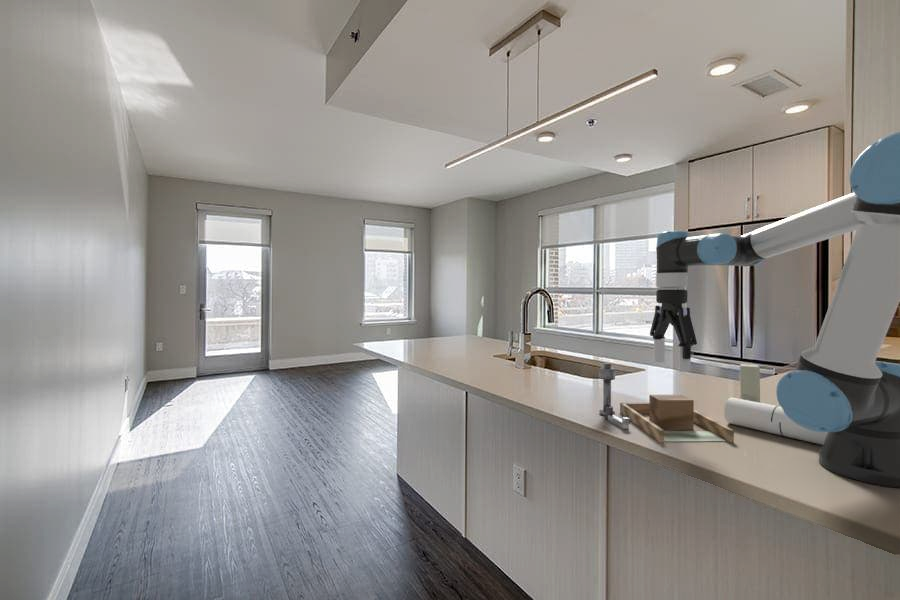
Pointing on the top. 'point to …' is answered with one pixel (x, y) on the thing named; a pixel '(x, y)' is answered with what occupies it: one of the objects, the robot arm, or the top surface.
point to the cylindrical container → (768, 420)
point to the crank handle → (617, 418)
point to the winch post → (606, 385)
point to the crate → (671, 411)
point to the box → (750, 382)
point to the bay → (660, 435)
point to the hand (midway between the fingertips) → (671, 366)
